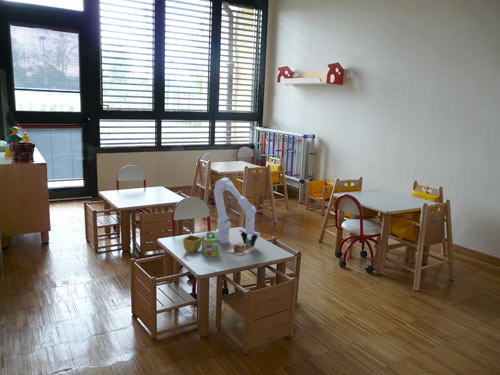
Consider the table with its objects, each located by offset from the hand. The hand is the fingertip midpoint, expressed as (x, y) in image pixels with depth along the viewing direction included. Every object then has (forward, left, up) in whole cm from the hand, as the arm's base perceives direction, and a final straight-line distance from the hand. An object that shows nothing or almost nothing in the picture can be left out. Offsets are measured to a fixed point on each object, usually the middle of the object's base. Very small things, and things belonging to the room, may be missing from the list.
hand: (248, 244), depth 276 cm
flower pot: (-25, -27, -3) cm, 37 cm away
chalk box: (-12, -25, -3) cm, 28 cm away
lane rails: (0, -12, -3) cm, 12 cm away
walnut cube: (0, -12, -1) cm, 12 cm away
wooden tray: (0, -8, -3) cm, 8 cm away
